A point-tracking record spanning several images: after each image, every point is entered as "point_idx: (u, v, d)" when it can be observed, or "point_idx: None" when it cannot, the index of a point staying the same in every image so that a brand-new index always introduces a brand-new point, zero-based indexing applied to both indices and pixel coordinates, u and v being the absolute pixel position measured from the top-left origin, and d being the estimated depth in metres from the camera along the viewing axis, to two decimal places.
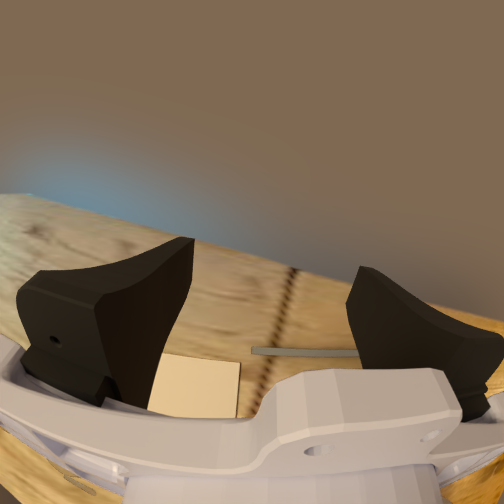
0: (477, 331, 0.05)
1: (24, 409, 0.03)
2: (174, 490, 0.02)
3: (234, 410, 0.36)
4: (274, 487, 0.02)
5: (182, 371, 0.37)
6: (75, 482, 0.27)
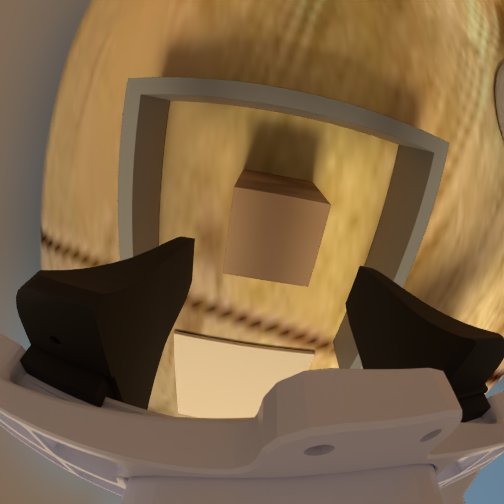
0: (477, 331, 0.05)
1: (24, 409, 0.03)
2: (175, 490, 0.02)
3: (249, 348, 0.26)
4: (274, 487, 0.02)
5: (195, 386, 0.29)
6: None
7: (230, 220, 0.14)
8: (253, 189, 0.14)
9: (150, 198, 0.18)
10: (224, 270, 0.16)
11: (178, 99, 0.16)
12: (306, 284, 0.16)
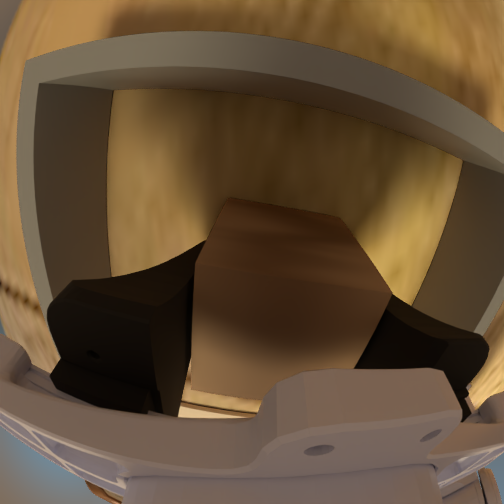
0: (454, 331, 0.05)
1: (24, 409, 0.03)
2: (175, 489, 0.02)
3: None
4: (274, 487, 0.02)
5: None
6: None
7: (194, 322, 0.07)
8: (237, 267, 0.06)
9: (85, 247, 0.11)
10: (193, 386, 0.08)
11: (118, 85, 0.08)
12: None
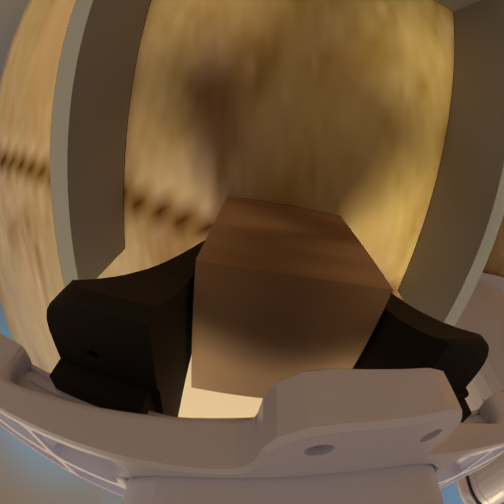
0: (454, 331, 0.05)
1: (24, 409, 0.03)
2: (175, 489, 0.02)
3: None
4: (274, 487, 0.02)
5: None
6: None
7: (194, 319, 0.07)
8: (238, 263, 0.06)
9: (122, 29, 0.08)
10: (194, 384, 0.08)
11: None
12: None
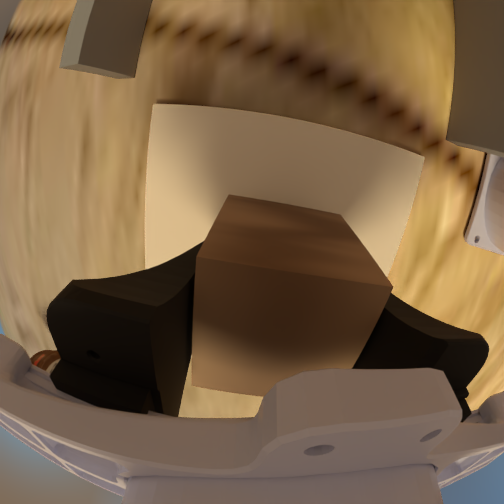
0: (454, 331, 0.05)
1: (24, 409, 0.03)
2: (175, 490, 0.02)
3: (308, 126, 0.12)
4: (274, 487, 0.02)
5: None
6: None
7: (195, 316, 0.07)
8: (238, 260, 0.06)
9: None
10: (194, 382, 0.08)
11: None
12: None
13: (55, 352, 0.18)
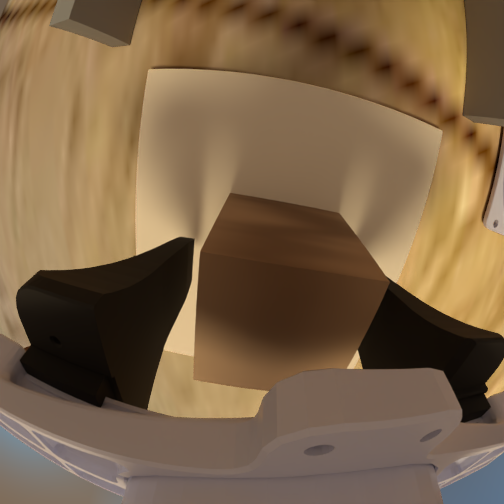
0: (477, 331, 0.05)
1: (24, 409, 0.03)
2: (174, 489, 0.02)
3: (319, 91, 0.10)
4: (274, 487, 0.02)
5: None
6: None
7: (198, 310, 0.07)
8: (240, 255, 0.07)
9: None
10: (196, 376, 0.09)
11: None
12: None
13: None
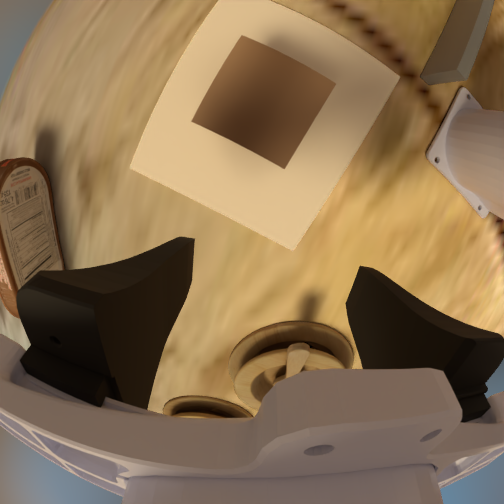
0: (477, 331, 0.05)
1: (24, 409, 0.03)
2: (175, 489, 0.02)
3: (323, 28, 0.14)
4: (274, 487, 0.02)
5: (200, 85, 0.16)
6: None
7: (224, 64, 0.10)
8: (260, 43, 0.10)
9: None
10: (194, 118, 0.12)
11: None
12: (283, 165, 0.12)
13: (34, 160, 0.17)
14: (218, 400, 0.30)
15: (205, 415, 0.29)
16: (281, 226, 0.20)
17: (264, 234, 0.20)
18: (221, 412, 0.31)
